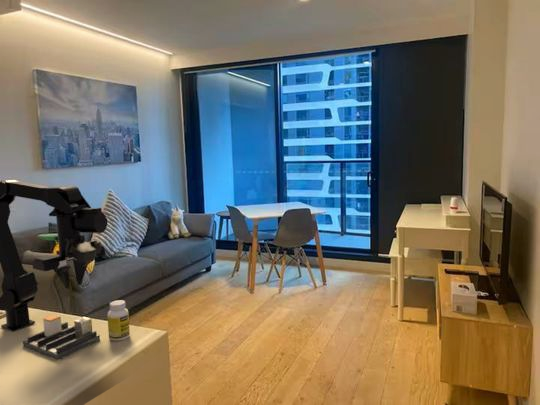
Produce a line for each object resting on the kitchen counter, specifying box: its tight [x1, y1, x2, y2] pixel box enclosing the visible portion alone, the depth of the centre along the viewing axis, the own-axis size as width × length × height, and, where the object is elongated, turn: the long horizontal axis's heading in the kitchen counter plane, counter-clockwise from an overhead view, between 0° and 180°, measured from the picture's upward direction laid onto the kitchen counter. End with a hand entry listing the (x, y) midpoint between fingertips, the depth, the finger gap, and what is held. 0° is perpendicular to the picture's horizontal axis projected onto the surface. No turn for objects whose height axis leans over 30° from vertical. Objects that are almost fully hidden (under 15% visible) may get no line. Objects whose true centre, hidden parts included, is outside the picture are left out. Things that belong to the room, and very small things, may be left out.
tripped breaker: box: [42, 314, 62, 337], centre depth 111 cm, size 3×3×5 cm
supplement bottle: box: [107, 299, 131, 342], centre depth 112 cm, size 5×5×10 cm
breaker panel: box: [22, 316, 101, 361], centre depth 109 cm, size 15×12×6 cm
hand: (73, 286), depth 115 cm, fingers open, 3 cm apart
